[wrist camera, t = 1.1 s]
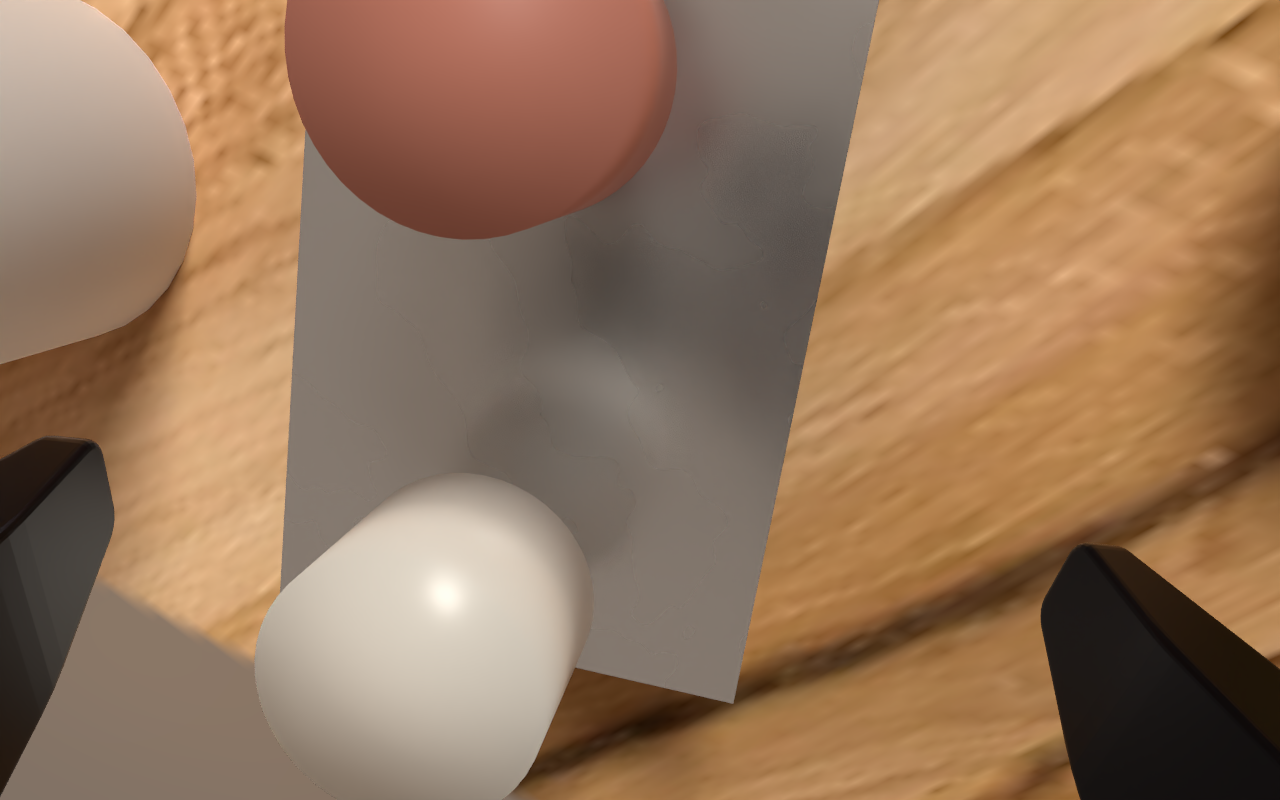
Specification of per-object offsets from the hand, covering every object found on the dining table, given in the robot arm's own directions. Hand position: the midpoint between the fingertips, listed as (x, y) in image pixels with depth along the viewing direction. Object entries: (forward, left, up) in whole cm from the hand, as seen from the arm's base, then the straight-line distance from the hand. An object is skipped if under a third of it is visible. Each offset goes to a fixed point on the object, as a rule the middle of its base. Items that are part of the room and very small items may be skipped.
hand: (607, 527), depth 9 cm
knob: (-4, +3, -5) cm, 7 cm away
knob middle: (+4, +3, -5) cm, 7 cm away
